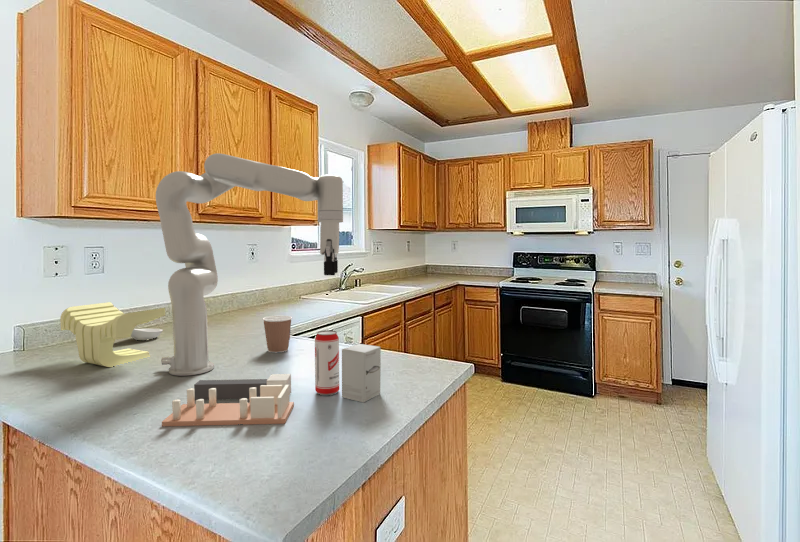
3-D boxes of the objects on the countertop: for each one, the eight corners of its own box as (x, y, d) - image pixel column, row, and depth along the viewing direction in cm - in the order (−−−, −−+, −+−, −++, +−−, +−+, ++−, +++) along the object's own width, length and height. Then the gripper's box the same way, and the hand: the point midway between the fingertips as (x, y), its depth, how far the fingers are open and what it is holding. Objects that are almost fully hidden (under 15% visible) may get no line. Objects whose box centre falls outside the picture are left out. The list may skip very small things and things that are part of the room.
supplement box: (364, 403, 105) (364, 352, 104) (341, 397, 109) (340, 348, 108) (381, 394, 111) (381, 346, 110) (358, 389, 115) (358, 342, 114)
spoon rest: (150, 335, 183) (150, 318, 182) (169, 337, 177) (168, 320, 177) (90, 347, 161) (89, 328, 161) (109, 350, 156) (108, 331, 156)
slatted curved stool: (62, 361, 141) (59, 308, 140) (112, 350, 156) (110, 302, 155) (117, 373, 128) (115, 314, 127) (167, 360, 143) (165, 307, 142)
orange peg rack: (161, 426, 91) (161, 401, 91) (183, 408, 101) (182, 385, 101) (284, 423, 93) (284, 398, 93) (293, 406, 103) (293, 383, 102)
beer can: (343, 389, 114) (343, 330, 113) (332, 398, 108) (331, 335, 107) (322, 387, 116) (322, 329, 115) (310, 395, 110) (309, 333, 109)
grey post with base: (193, 401, 106) (192, 381, 106) (201, 394, 111) (201, 375, 111) (287, 399, 107) (286, 380, 107) (291, 392, 112) (290, 373, 112)
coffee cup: (298, 349, 157) (298, 317, 157) (276, 355, 149) (276, 321, 148) (279, 345, 163) (278, 314, 162) (257, 351, 154) (256, 318, 153)
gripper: (321, 218, 137) (321, 272, 138) (314, 215, 120) (314, 276, 121) (344, 218, 138) (345, 272, 139) (341, 215, 120) (341, 276, 121)
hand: (331, 274), depth 130 cm, fingers open, 9 cm apart
